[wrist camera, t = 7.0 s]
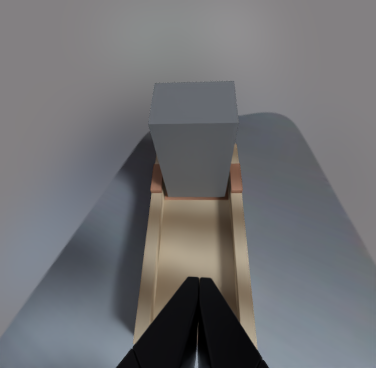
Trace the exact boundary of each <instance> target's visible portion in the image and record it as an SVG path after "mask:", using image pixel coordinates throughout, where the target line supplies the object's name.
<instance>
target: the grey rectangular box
mask: <svg viewBox="0 0 376 368" xmlns="http://www.w3.org/2000/svg"><path fill="white" fill-rule="evenodd" d="M238 124H239V120H238V112H237V103H236V94H235V86H234V81H219V82H218V81H217V82H181V83H155V85H154V91H153V98H152V104H151V111H150V116H149V123H148V125H149V129H150V132H151V136H152V140H153V143H154V147H155V150H156V154H157V158H158V161H159V165H160V169H161V172H162V176H163V179H164V183H165V187H166V190H167V194H168V197H225V193H226V188H227V182H228V177H229V172H230V166H231V161H232V156H233V151H234V145H235V140H236V135H237V129H238Z"/></svg>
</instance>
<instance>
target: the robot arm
mask: <svg viewBox="0 0 376 368" xmlns="http://www.w3.org/2000/svg"><path fill="white" fill-rule="evenodd" d="M197 335H198V339H197ZM196 352H198V368H269V367H268V366H267V364H266V362H265V361H264V360H262V356H261V355H260V353H259V352H258V350H257V349H256V347H255V345H254V344H253V342H252V341H251V339H250V338H249V336H248V334H247V333H246V331H245V330H244V328H243V327H242V325H241V323H240V322H239V320H238V319H237V317H236V316H235V314H234V312H233V311H232V309H231V308H230V306H229V305H228V303H227V301H226V300H225V298H224V297H223V295H222V294H221V292H220V291H219V289H218V287H217V286H216V284H215V283H214V281H213V280H212V278H209V277H201V278H200V280H199V277H192V276H188V277H187V278H186V279H185V281H184V282H183V283H182V284H181V286H180V287H179V288H178V290H177V291H176V292H175V293H174V295H173V296H172V297H171V299H170V300H169V301H168V302H167V304H166V305H165V306H164V307H163V309H162V310H161V311H160V313H159V314H158V315H157V316H156V318H155V319H154V320H153V322H152V323H151V324H150V325H149V327H148V328H147V329H146V331H145V332H144V333H143V334H142V336H141V337H140V338H139V339H138V341H137V342H136V343H135V345H134V346H133V348H132V349H131V350H130V351H129V352H128V353H127V355H126V356H125V357H124V359H123V360H122V361H121V362H120V363H119V365H118V366H117V367H116V368H194V366H195V359H196Z"/></svg>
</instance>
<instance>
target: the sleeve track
mask: <svg viewBox="0 0 376 368" xmlns="http://www.w3.org/2000/svg"><path fill="white" fill-rule="evenodd" d="M150 190H151V193H152V194H151V202H150V210H149V218H148V227H147V235H146V243H145V251H144V259H143V267H142V275H141V283H140V291H139V299H138V308H137V316H136V324H135V332H134V340H133V344H135V343H136V342H137V341H138V339H139V338H140V337H141V336H142V334H143V333H144V332H145V331H146V329H147V328H148V327H149V325H150V324H151V323H152V322H153V320H154V319H155V318H156V316H157V315H158V314H159V313H160V311H161V310H162V309H163V307H164V306H165V305H166V304H167V302H168V301H169V300H170V299H171V297H172V296H173V295H174V293H175V292H176V291H177V290H178V288H179V287H180V286H181V284H182V283H183V282H184V281H185V279H186V278H187V277H188V276H192V277H199V280H200V278H201V277H209V278H212V280H213V281H214V283H215V284H216V286H217V287H218V289H219V291H220V292H221V294H222V295H223V297H224V298H225V300H226V301H227V303H228V305H229V306H230V308H231V309H232V311H233V312H234V314H235V316H236V317H237V319H238V320H239V322H240V323H241V325H242V327H243V328H244V330H245V331H246V333H247V334H248V336H249V338H250V339H251V341H252V342H253V344H254V345H255V347H256V349H257V340H256V330H255V320H254V311H253V301H252V291H251V281H250V271H249V261H248V251H247V241H246V231H245V221H244V211H243V202H242V190H243V189H242V179H241V170H240V163H239V162H238V152H237V144H235V145H234V151H233V156H232V161H231V166H230V172H229V177H228V182H227V188H226V193H225V197H168V194H167V190H166V187H165V183H164V179H163V176H162V172H161V169H160V165H159V161H158V158H157V154H156V162H155V164H154V166H153V174H152V182H151V189H150ZM197 339H198V335H197Z"/></svg>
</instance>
